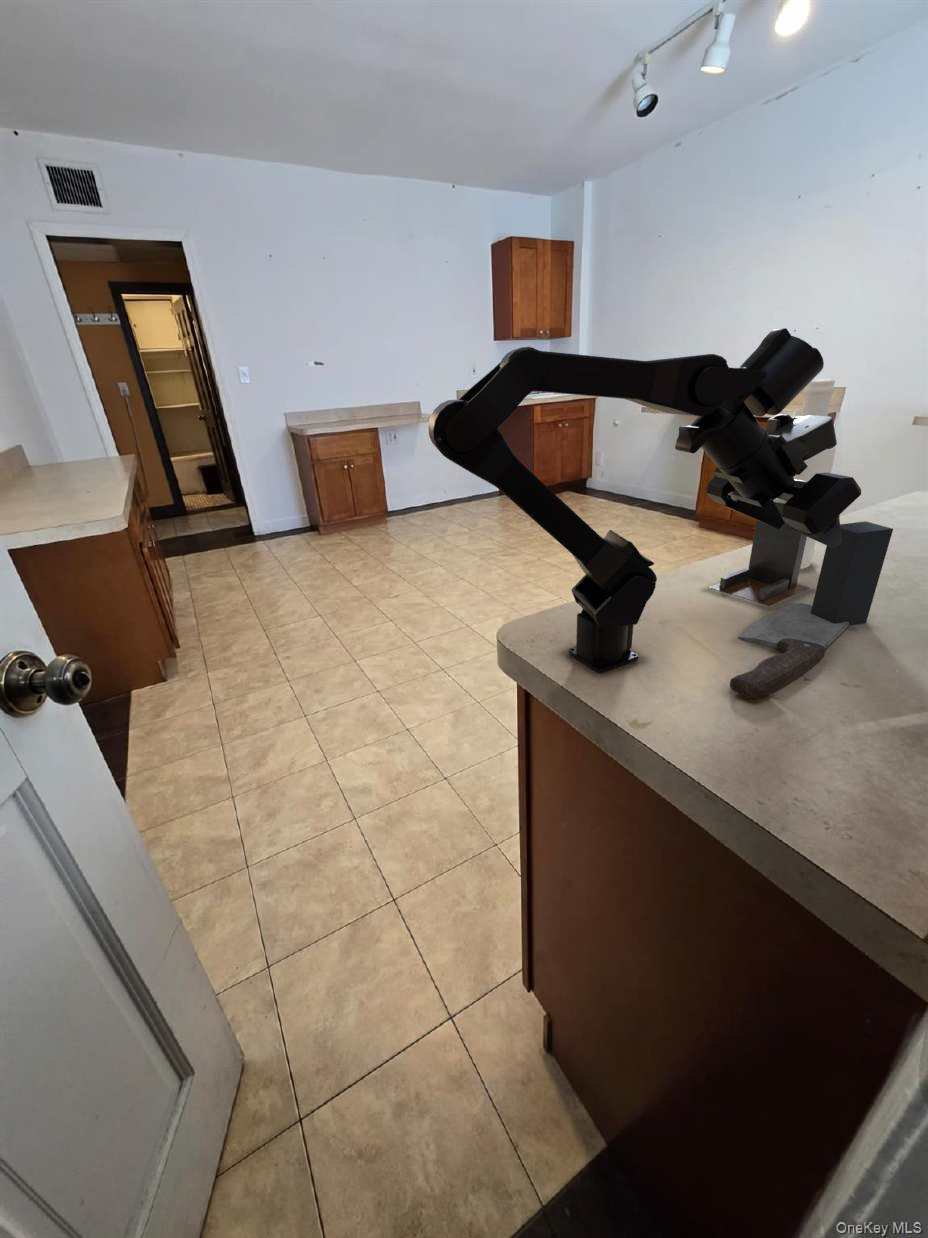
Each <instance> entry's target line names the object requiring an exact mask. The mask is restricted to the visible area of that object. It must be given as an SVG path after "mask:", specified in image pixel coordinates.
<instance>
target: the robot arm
mask: <svg viewBox="0 0 928 1238" xmlns="http://www.w3.org/2000/svg"><path fill="white" fill-rule="evenodd" d="M824 365H825V363H824V357H823V356H822V354H821V352H820V350H819V348H816V347H813V346H812V345H811V344H810V343H808V342H806V341H805V340H804V339H802V338H800V337H798V336H795V335H791V333H790V331H789V330H788V328H779V329H772V330H770V331H769V333H768V334H767V335H766V336H765V337H764V338H763V339H762V341H761V342H760V344H759V345H758V347H757V348H756V349H755V350H754V351H753V352H752V353H751V354H750V355H749V356H748V358H746V360H744V362H742V363H741V365H740V366H739V367H729V365H728V361H727V359H726V358H725V357H724V356H721V355H719V354H715V353H706V354H698V355H688V356H679V357H678V356H677V357H670V358H660V359H652V360H651V359H649V360H637V359H627V358H617V357H609V356H608V357H606V356H597V355H586V354H577V353H576V354H575V353H565V352H556V351H545V350H539V349H536V348H535V347H532V346H523V347H519V348H515V349H511V350H510V351H508V352H507V353H506V354H505V355H504V356H503V357H502V358H501V360H500V361H499V363H497V364H496V366H495V367H493V369H491V370H490V371H489V372H488V373H487V374H485V375H484V376H483V377H482V378H480V379H479V380H478V381H477V382H476V383H475V384H473V385H472V386H471V387H470V388H469V389H468V390H467V391H466V392H465V393H463V394H462V395H461V397H459V398H458V399H449V400H446V401H443V402H442V403H441V402H440V403H439V404H438V406H437V407H435V409H433V411H432V413H431V415H430V417H429V419H428V420H429V421H428V426H427V428H428V436H429V439H430V441H431V443H432V444H433V446H434V447H435V448H436V450H438V451H439V452H440V454H441V455H442V456H443V457H444V458H446V459H447V460H449V461H450V462H452V463H454V464H456V465H457V466H459V467H461V468H462V469H464V470H466V471H467V472H469V473H470V474H472V475H474V476H476V477H478V478H479V479H481V480H483V481H485V482H487V483H489V484H490V485H492V486H494V487H496V488H497V490H499V491H500V492H501V493H502V494H503V495H504V496H505V497H507V498H508V499H509V500H510V501H511V502H512V503H514V504H515V505H516V507H518V508H519V509H520V510H521V511H523V512H524V513H525V514H526V516H528V517H529V518H531V520H533V521H534V522H535V523H536V524H537V525H538V526H539V527H541V528H542V529H543V530H544V531H545V532H547V533H548V534H549V535H550V536H551V537H552V538H553V539H554V540H556V541H557V543H559V544H560V545H561V546H562V547H563V548H565V550H566V551H568V552H569V553H570V554H571V555H572V556H573V558H574V559H575V561H576V562H577V564H578V565H579V567H580V569H581V570H582V571H583V573H584V575H583V576H582V578H580V580H579V581H578V582H577V583H576V584H575V585H574V586H573V587H572V588H571V593H572V596H573V598H574V602H575V603H576V604H578V605H579V606H580V607H581V609H582V610H581V612H579V613H576V638H575V639H576V641H575V642H576V643H575V646H573V647H570V648H568V654H569V655H571V656H572V657H574V658H576V659H577V660H579V661H580V662H582V663H583V664H585V665H587V666H588V667H589V668H591V669H592V670H594V671H596V672H597V673H604V672H607V671H609V670H612V669H615V668H618V667H620V666H624V665H625V664H629V663H632V662H634V661H637V660H639V653H636V652H634V651H633V650H631V649H632V647H633V633H634V626H635V625H638V623H639V621H640V619H641V617H642V614H643V612H644V609H645V607H646V605H647V603H648V601H649V600H650V599H651V598H652V596H653V595H654V592H655V590H656V585H657V581H658V578H657V575H656V572H655V571H654V570H653V569H652V568H651V567H652V566H654V565H655V562H654V561H653V560H651V559H649V558H648V557H646V556H644V555H643V554H641V553H640V551H639V550H638V548H637V547H636V546H635V544H634V543H633V542H632V541H630V540H629V539H627V538H625V537H624V536H623V535H620V534H619V533H617V532H616V531H614V530H613V529H609V530H608V532H607V533H606V534H605V536H604V537H602V536H601V535H600V534H599V533H598V532H597V531H595V530H594V529H593V528H592V527H591V526H590V525H589V524H588V523H586V521H584V519H582V517H580V515H578V514H577V513H576V512H575V511H574V510H572V508H571V507H570V506H569V505H568V504H567V503H565V502H564V501H563V500H562V499H561V498H560V497H559V496H557V494H556V493H555V492H553V490H551V489H550V488H549V487H548V486H547V485H546V484H545V483H544V482H542V480H540V479H539V478H538V477H537V476H536V475H535V474H534V473H533V472H532V471H531V470H530V469H529V468H527V466H525V465H524V463H522V462H521V461H520V460H519V459H518V457H517V456H516V454H515V453H514V451H513V449H512V448H511V447H510V445H509V444H508V443H509V442H507V441H506V439H505V437H504V435H503V434H502V432H501V431H500V430H499V429H498V428H499V427H500V426H502V424H503V423H504V422H505V421H506V420H507V419H508V418H509V417H510V416H511V415H512V414H513V413H514V412H515V410H516V409H517V407H519V405H521V403H522V402H523V401H524V399H525V398H527V397H528V396H529V395H530V394H531V393H532V392H538V393H548V394H549V393H550V394H563V395H574V396H584V397H585V396H586V397H596V398H597V397H598V398H609V399H621V400H626V401H629V402H633V403H635V404H638V405H640V406H643V407H646V408H649V409H652V410H655V411H659V412H662V413H665V414H671V415H682V416H693V417H696V418H695V419H694V420H693V421H692V423H690V424H689V425H680V426H679V427H678V435H677V438H676V441H675V446H674V449H675V450H676V451H678V452H684V453H688V454H695V453H697V452H698V451H699V450H700V449H702V450H703V451H704V452H705V454H706V455H707V456H708V457H709V459H710V460H711V461H712V463H713V464H714V465H715V466H716V468H714V470H713V471H712V472H713V473H714V474H715V475H714V476H713V477H712V478H711V480H709V481H708V483H707V487H706V494H707V495H708V496H709V498H710V499H711V500H712V501H713V502H714V503H717V504H719V505H721V506H722V507H724V508H727V509H729V510H732V511H734V512H736V513H738V514H741V515H744V516H746V517H748V518H751V519H753V520H756V521H757V520H758V521H760V522H763V523H765V524H767V525H770V526H772V527H774V528H777V529H780V528H781V527H782V526H783V525H784V524H785V522H786V523H787V524H789V525H790V526H791V529H792V530H794V531H796V532H798V533H800V534H803V535H805V536H807V537H809V538H811V539H814V540H816V541H815V542H818V543H820V544H822V545H824V546H829V547H831V548H836V547H837V546H838V545H839V544H840V543H841V542H842V538H841V529H840V524H841V520H840V517H841V516H840V515H841V514H842V513H843V512H845V510H846V509H847V508H849V506H851V505H852V504H853V503H854V502H855V501H857V499H858V498H859V497H860V496H862V488H861V487H860V486H859V484H858V482H857V481H856V479H855V478H854V477H853V476H847V475H844V474H838V473H832V472H831V473H816V474H815V475H814V476H813V477H812V478H811V479H810V480H809V481H808V482H805V481H800V480H795V479H794V478H793V477H794V476H795V475H800V474H801V473H802V472H803V471H804V470H805V469H806V468H807V467H808V466H807V465H806V463H805V462H804V461H805V460H808V459H810V458H811V457H813V456H815V455H817V454H819V453H820V452H822V451H824V450H826V449H831V448H833V447H834V446H835V447H836V446H837V444H838V442H837V436H836V430H835V424H834V419H833V416H830V415H828V416H816V415H807V416H802V417H800V416H801V415H799V416H798V415H797V416H795V417H791V415H790V414H786V413H785V414H784V413H782V411H783V410H784V409H785V408H787V407H788V406H789V404H790V403H791V402H792V401H793V400H795V399H796V397H797V396H798V395H799V394H800V393H801V392H802V391H804V390H805V388H806V386H807V385H808V384H809V383H810V382H811V381H812V380H815V378H816V377H817V376H818V375H819V374H820V373H821V372H822V371H823V369H824ZM766 415H769V416H772V417H770V418H768V419H767V421H766V426H765V429H764V427H763V426H762V425H761V423H760V422H759V421H758V420H757V418H758V417H759V418H761V417H764V416H766ZM756 417H757V418H756ZM776 498H778V499H782V500H786V501H787V502H786V503H785V504H784V506H783V510H782V515H781V513H780V512H779V510H778V508H777V506H776V504H775V503H774V501H773V500H774V499H776ZM783 519H784V520H783ZM784 521H785V522H784Z"/></svg>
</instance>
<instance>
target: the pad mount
mask: <svg viewBox="0 0 928 1238" xmlns="http://www.w3.org/2000/svg"><path fill="white" fill-rule="evenodd" d="M773 501H774V503H775V504H776V506H777V508H778V510H779V512H780V513H781V515H782V510H783V506H784V504H785V503H786V502H787V501H786V500H779V499H774V500H773ZM783 520H784V519H783ZM784 522H785V521H784ZM806 539H807V536H805V535H803V534H800V533H798V532H796V531H794V530H792V529H791V526H790V525H789V524H787V523H786V522H785V524H784V525H783V526H782V527H781V528H780V529H777V528H774V527H772V526H770V525H767V524H765V523H763V522H760V521H758V520H756V523H755V528H754V533H753V538H752V546H751V550H750V551H751V552H750V556H749V562H748V569H747V568H742V569H741V570H738V571H735V572H733V573H729V574H728V575H725V576H722V577H720V581H719V582H718V583H716V584H713V585H710V586H708V589H711V590H715V591H718V592H721V593H725V594H728V595H732V596H734V597H738V598H740V599H745V600H748V601H751V602H754V603H758V604H761V605H764V606H767V607H771V606H773V605H776V604H777V603H780V602H782V601H784V600H786V599H789V598H790V597H793V596H795V595H797V594H799V593H801V592H803V591H806V590H808V589H810V588H811V587H810V586H806V585H802V584H798V581H799V576H800V571H801V569H800V567H801V562H802V558H803V553H804V548H805V544H806Z"/></svg>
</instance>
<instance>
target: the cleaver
mask: <svg viewBox="0 0 928 1238" xmlns="http://www.w3.org/2000/svg"><path fill="white" fill-rule="evenodd" d="M811 609H812V604H811V605H810V604H806V603H802V602H793V603H790V604H788V605H786V606H782V607H781V608H777V609H776V610H774V611H771V612H770V613H767V614H765V615H763V616H762V617H760V618H758V619H756V620H755V621H753V622H751V623H750V624H749V625H748V626H747V627H746V628H744V629H743V631H742V632H741V633H740V634H739V635H738V636H737V638H738V639H741V640H744V641H746V642H748V643H753V644H757V645H760V646H764V647H767V648H770V649H774V650H776V651H778V652H779V654H776V655H772V656H770V657H768V658H765V659H763V660H762V661H761V662H759V663H758V664H757V665H756V667H755V668H754V669H752V670H749V671H747V672H743V673H741V674H738V675H736V676H734V677H732V678H731V679H730V680H729V688H730V690H731V691H733V692H734V693H737V694H739V695H741V696H744V697H747V698H750V699H755V700H756V699H759V698H762V697H765V696H768V695H770V694H772V693H773V692H775V691H777V690H780V689H781V688H783V687H784V686H786V685H787V684H789V683H791V682H793V681H795V680H796V679H797V678H799V677H800V676H802V675H803V674H805V673H806V672H808V671H810V669H812V668H813V667H814V666H816V665H817V664H818V663H819V662H820V661H821V660H822V659H823V658H824V656H825V654H826V649H827V648H828V647H830V645H831V644H832V643H834V641H835V640H837V639H838V638H839V637H840V636H841V635H842V634H843V633H844V631H845V630H846V629H847V628H848V627H849V626H848V625H849V622H842V623H835V624H833V623H831V622H829V621H827V620H824V619H822V618H820V617H818V616H815V615H813V614H811Z"/></svg>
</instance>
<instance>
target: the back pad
mask: <svg viewBox="0 0 928 1238" xmlns="http://www.w3.org/2000/svg"><path fill="white" fill-rule="evenodd" d="M840 529H841V538H842V542H841V543H840V544H839V545H838V546H837V547H836V548H831V547H829V546H827V545H825V551H824V554H823V559H822V562H821V567H820V572H819V576H818V580H817V585H816V588H815V593H814V596H813V601H812V604H811V606H812V609H811V614H813V615H815V616H818V617H820V618H822V619H824V620H827V621H829V622H831V623H833V624H835V623H842V622H849V625H848V627H850V626H857V625H862V624H863V625H864V624H867V623H868V622H867V621H868V618H869V615H870V612H871V608H872V605H873V600H874V597H875V594H876V590H877V587H878V583H879V580H880V576H881V573H882V570H883V566H884V562H885V558H886V556H887V552H888V549H889V546H890V542H891V538H892V535H893V532H894V528H892V527H888V526H885V525H881V524H877V523H873V522H869V521H867V520H866V521H856V522H848V523H840Z"/></svg>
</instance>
